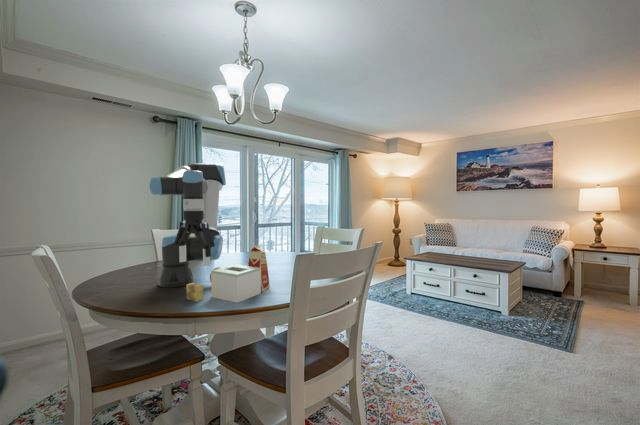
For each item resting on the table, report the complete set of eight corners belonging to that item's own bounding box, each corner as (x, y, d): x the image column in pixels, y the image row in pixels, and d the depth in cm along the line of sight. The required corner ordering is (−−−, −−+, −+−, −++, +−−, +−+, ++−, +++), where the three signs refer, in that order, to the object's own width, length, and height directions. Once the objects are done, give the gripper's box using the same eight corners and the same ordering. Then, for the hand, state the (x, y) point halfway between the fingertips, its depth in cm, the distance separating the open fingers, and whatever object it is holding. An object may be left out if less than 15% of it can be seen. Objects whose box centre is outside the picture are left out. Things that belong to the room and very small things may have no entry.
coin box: (211, 297, 136) (211, 270, 135) (236, 288, 148) (235, 264, 147) (237, 302, 129) (237, 274, 128) (260, 293, 141) (260, 267, 140)
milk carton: (263, 291, 144) (262, 245, 143) (243, 290, 146) (242, 244, 145) (270, 285, 153) (270, 242, 152) (251, 284, 155) (251, 242, 154)
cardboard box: (186, 299, 133) (186, 284, 133) (192, 297, 136) (192, 282, 136) (197, 301, 131) (196, 286, 130) (203, 299, 133) (202, 284, 133)
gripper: (164, 209, 134) (165, 261, 135) (208, 211, 122) (209, 268, 123) (180, 209, 141) (181, 258, 142) (223, 210, 129) (224, 264, 130)
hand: (194, 263), depth 133 cm, fingers open, 13 cm apart
